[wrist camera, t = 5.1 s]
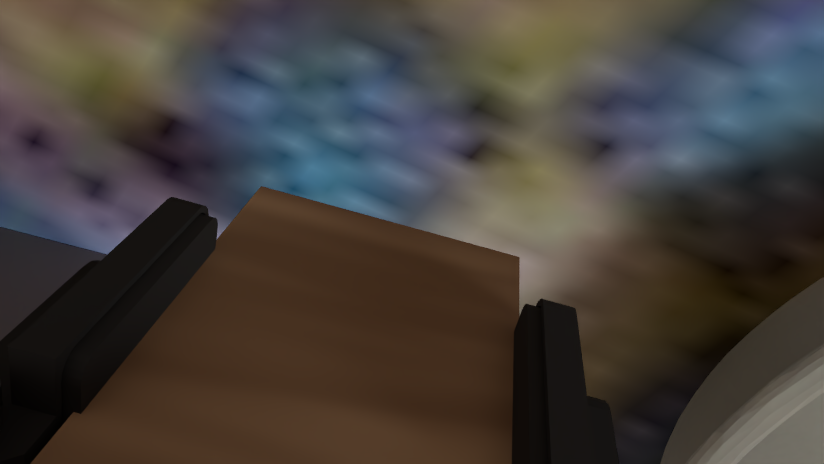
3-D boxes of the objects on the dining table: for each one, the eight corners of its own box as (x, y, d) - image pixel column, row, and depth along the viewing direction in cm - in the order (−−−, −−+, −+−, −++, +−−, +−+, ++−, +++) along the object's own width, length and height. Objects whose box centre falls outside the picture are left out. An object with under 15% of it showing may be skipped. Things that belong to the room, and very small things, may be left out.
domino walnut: (261, 186, 13) (-294, 851, 4) (519, 256, 13) (515, 1090, 4) (251, 257, 14) (-234, 946, 5) (495, 324, 14) (446, 1148, 5)
